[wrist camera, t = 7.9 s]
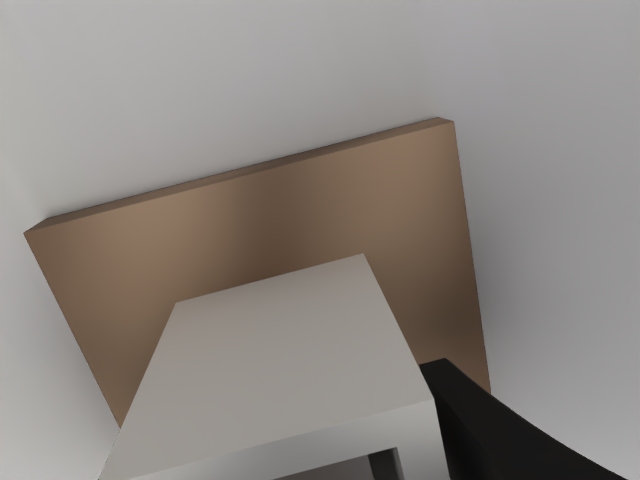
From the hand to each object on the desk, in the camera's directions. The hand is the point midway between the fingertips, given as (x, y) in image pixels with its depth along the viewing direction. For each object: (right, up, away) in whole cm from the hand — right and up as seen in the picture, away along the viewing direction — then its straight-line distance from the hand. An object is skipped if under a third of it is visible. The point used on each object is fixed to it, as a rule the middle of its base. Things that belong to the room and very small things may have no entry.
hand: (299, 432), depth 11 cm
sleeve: (0, +1, +3) cm, 3 cm away
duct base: (0, +1, +4) cm, 4 cm away
